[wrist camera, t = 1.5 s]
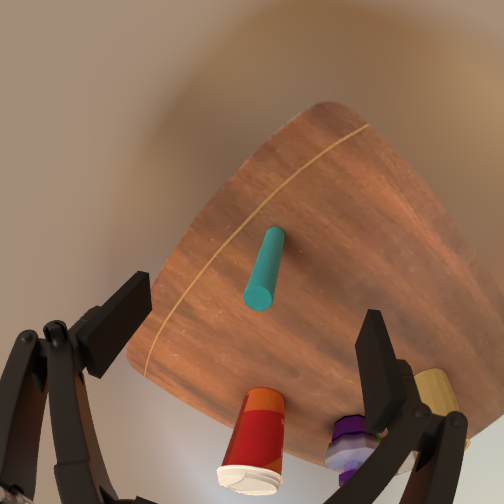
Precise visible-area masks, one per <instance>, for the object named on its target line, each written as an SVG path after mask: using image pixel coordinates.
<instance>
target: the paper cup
mask: <svg viewBox="0 0 504 504" xmlns="http://www.w3.org/2000/svg"><path fill="white" fill-rule="evenodd" d="M284 418H285V400H284V397H283V396H282V395H281V394H280V393H279V392H277V391H275V390H272V389H268V388H256V389H253V390H251V391H249V392H248V393H247V394H246V396H245V399H244V402H243V404H242V407H241V410H240V413H239V416H238V419H237V422H236V425H235V428H234V431H233V434H232V437H231V439H230V442H229V445H228V448H227V451H226V454H225V457H224V460H223V463H222V465H221V467H220V468H218V469H217V475H218V482H219V484H220V485H221V486H226V488H228V489H230V490H233V491H235V490H236V492H237V493H241V494H247V495H257V496H259V495H260V496H262V495H270V494H274V493H276V492H277V491H278V489H279V486H280V485H282V483H283V478H282V477H281V470H282V454H283V439H284Z"/></svg>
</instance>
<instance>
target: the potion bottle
mask: <svg viewBox="0 0 504 504" xmlns="http://www.w3.org/2000/svg"><path fill="white" fill-rule="evenodd" d="M379 444H380V439H379V436H378V433H367V425H366V417H365V416H362V415H359V414H357V415H350V416H344V417H342V418H341V419H340V420H338V421H336V422H335V429H334V433H333V437H332V442H331V443H329V446H328V450H327V453H326V457H325V464H326V468H329V469H333V470H337V471H341V472H344V473H342V474H340V475H339V486H342V485H343V484H344V483H345V482H346V481H347V480H348V479H349V478H350V477H351V476H352V475H353V474H354V473H355V472H356V470H357V469H358V468H359V467H360V466H361V465H362V464H363V463H364V462H365V460H366V459H367V458H368V457H369V456H370V455H371V454H372V452H373V451H374V450H375V449H376V448H377V446H378V445H379Z"/></svg>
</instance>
